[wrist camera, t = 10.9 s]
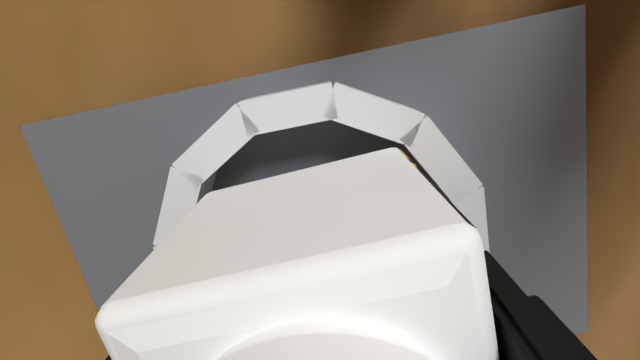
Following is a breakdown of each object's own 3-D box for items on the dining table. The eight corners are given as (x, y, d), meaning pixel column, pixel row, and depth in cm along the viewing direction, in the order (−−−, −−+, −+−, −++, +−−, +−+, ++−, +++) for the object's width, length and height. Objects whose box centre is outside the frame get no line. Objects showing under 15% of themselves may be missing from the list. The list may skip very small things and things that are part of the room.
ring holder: (568, 8, 14) (628, -8, 11) (574, 317, 18) (621, 363, 15) (38, 122, 16) (-26, 133, 13) (144, 382, 20) (113, 436, 17)
